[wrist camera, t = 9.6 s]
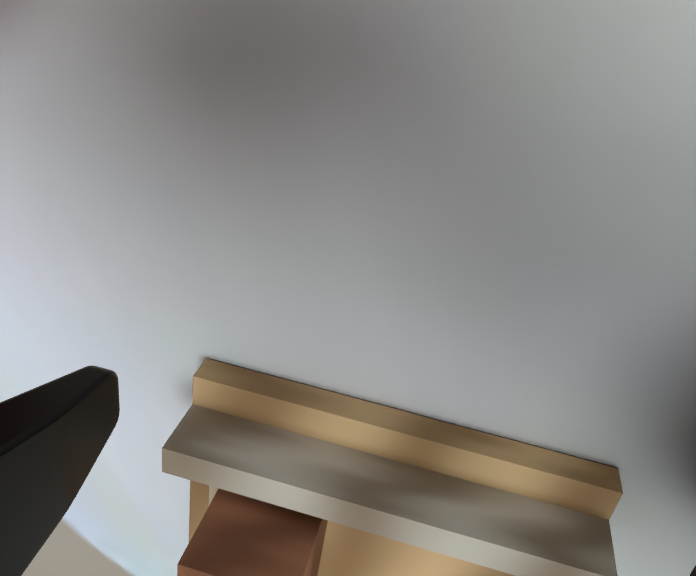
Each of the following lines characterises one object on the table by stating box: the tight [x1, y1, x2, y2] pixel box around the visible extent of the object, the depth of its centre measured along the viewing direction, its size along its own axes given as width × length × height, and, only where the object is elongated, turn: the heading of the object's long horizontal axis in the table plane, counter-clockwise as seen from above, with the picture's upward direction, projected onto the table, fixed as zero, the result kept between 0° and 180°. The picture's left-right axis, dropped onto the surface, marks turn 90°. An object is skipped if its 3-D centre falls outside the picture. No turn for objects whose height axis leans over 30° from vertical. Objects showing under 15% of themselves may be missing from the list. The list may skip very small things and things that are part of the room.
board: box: [162, 358, 623, 576], centre depth 26 cm, size 16×14×4 cm
